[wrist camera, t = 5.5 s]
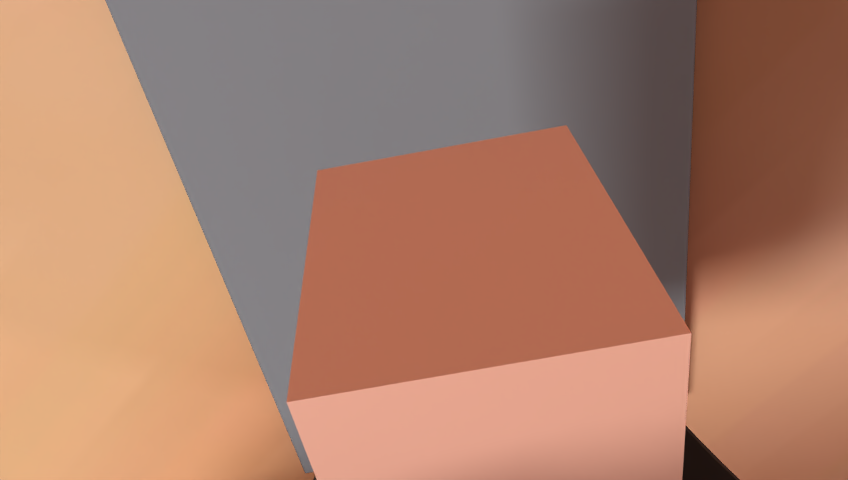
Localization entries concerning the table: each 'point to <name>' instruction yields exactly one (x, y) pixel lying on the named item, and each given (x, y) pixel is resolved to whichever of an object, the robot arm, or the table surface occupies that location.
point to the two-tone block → (484, 323)
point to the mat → (403, 116)
